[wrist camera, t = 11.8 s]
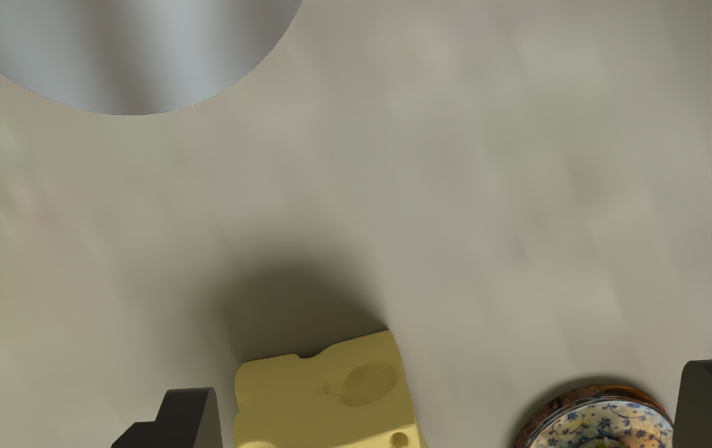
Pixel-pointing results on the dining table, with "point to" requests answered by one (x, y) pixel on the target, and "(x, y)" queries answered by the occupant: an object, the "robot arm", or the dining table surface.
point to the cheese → (328, 399)
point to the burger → (599, 421)
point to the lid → (136, 49)
